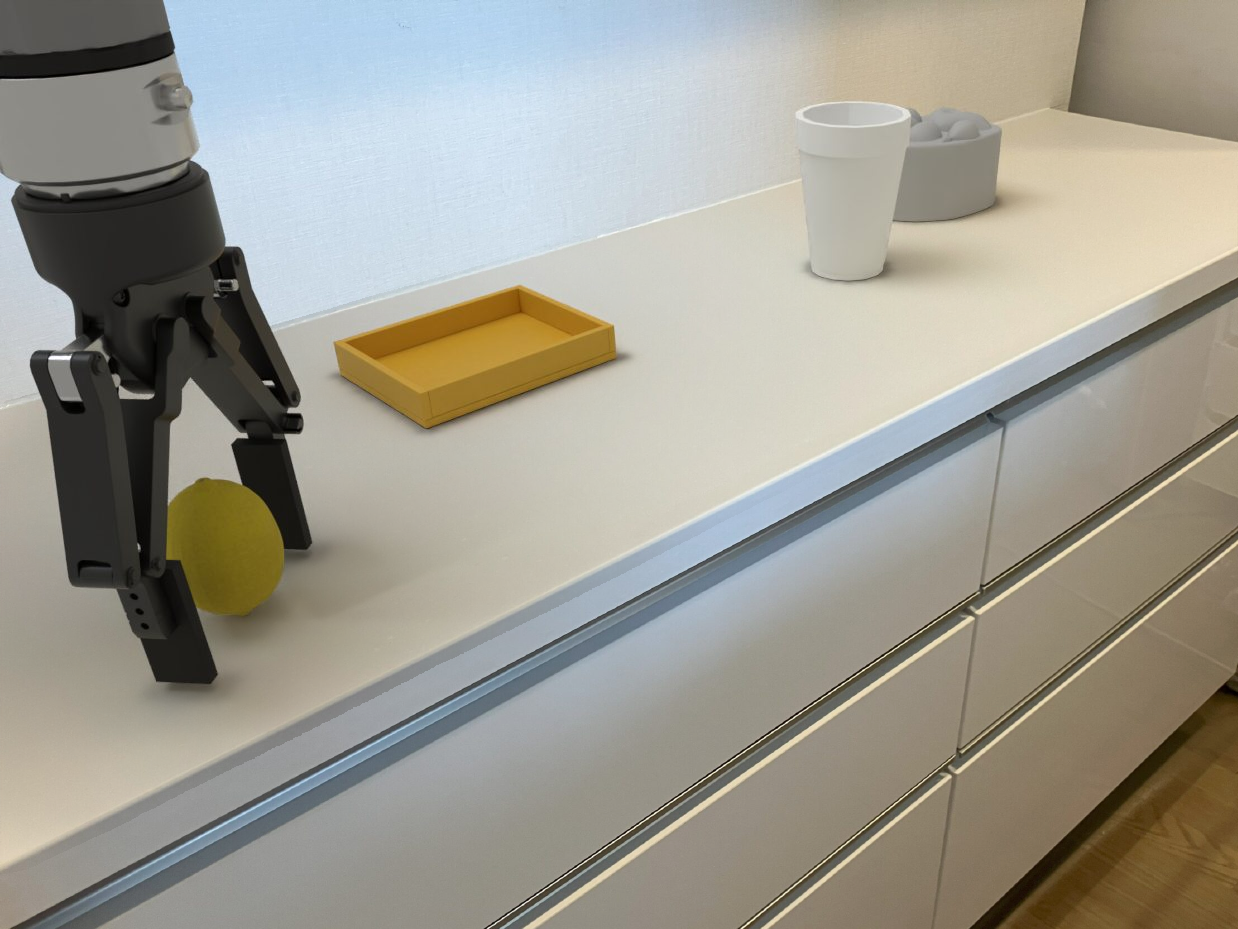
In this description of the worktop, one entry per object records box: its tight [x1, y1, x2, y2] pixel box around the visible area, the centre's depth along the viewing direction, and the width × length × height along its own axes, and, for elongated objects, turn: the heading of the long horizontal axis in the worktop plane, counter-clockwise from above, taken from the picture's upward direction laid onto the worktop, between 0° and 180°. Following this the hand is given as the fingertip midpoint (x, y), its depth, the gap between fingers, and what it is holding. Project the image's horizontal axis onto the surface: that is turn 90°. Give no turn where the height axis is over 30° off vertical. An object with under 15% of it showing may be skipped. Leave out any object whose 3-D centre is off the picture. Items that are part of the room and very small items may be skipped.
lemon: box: [166, 476, 285, 617], centre depth 57 cm, size 6×6×8 cm
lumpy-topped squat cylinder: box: [893, 106, 1003, 222], centre depth 113 cm, size 10×13×9 cm
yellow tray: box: [333, 284, 617, 429], centre depth 84 cm, size 16×12×3 cm
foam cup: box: [794, 100, 911, 282], centre depth 97 cm, size 10×9×13 cm
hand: (241, 606), depth 59 cm, fingers open, 11 cm apart
